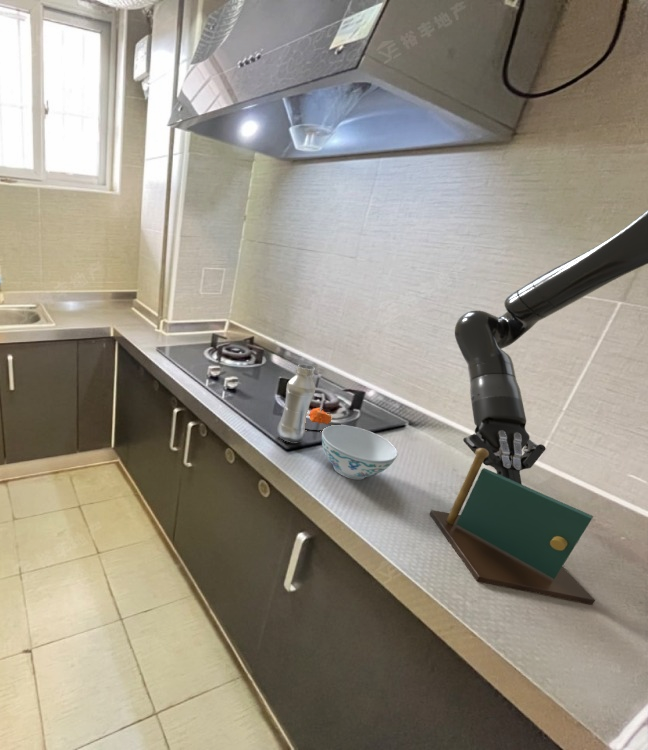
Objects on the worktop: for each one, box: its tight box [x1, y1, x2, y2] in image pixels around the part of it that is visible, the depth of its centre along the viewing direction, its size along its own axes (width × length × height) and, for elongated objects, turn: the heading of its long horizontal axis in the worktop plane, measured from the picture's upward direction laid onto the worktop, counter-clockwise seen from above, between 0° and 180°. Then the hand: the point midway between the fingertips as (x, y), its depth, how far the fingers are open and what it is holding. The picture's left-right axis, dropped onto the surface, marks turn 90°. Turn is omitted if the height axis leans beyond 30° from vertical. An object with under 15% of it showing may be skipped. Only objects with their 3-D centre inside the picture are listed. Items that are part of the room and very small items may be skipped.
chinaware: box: [321, 424, 398, 480], centre depth 87 cm, size 15×15×8 cm
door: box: [457, 467, 594, 579], centre depth 64 cm, size 14×3×12 cm, turn 33°
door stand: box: [429, 448, 596, 606], centre depth 65 cm, size 16×16×17 cm
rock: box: [309, 407, 332, 424], centre depth 110 cm, size 12×12×4 cm
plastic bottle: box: [276, 363, 316, 443], centre depth 96 cm, size 6×7×20 cm
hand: (511, 491), depth 70 cm, fingers closed
